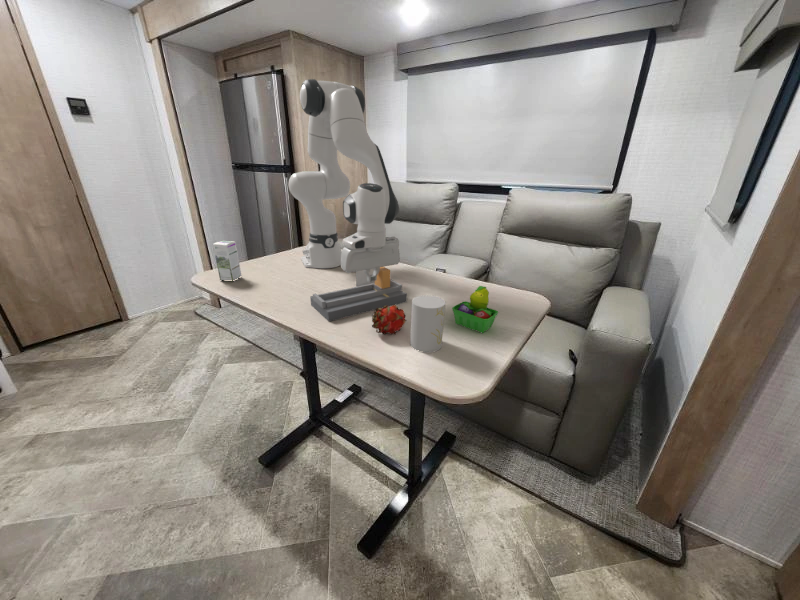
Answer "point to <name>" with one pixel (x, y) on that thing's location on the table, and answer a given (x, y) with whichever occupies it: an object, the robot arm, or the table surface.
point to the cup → (427, 323)
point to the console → (357, 300)
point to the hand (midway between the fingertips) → (371, 280)
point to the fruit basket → (475, 311)
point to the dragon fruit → (388, 319)
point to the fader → (382, 279)
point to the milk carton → (363, 278)
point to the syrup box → (227, 260)
